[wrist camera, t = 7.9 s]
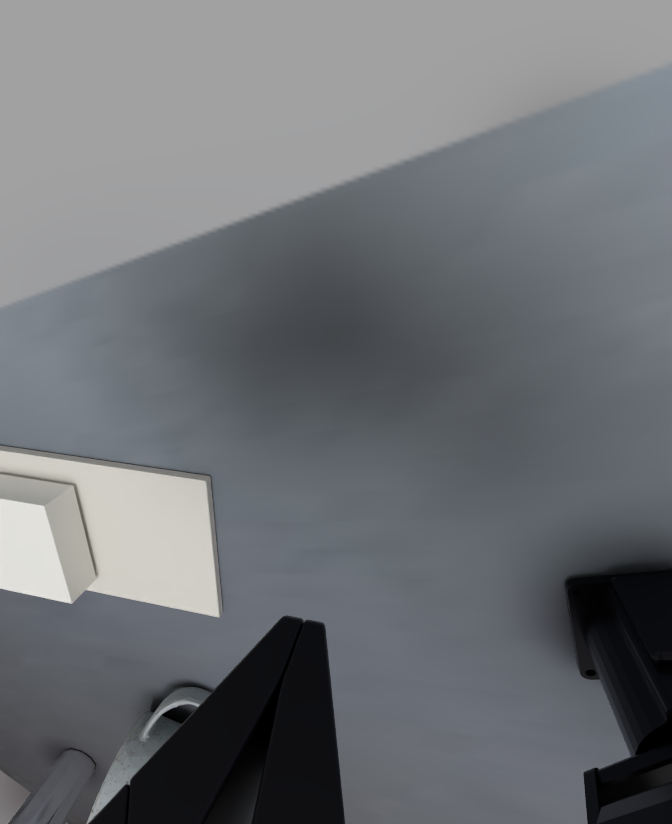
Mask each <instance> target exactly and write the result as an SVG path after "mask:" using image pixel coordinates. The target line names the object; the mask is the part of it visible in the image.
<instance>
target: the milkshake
mask: <svg viewBox="0 0 672 824" xmlns="http://www.w3.org/2000/svg"><path fill="white" fill-rule="evenodd" d="M94 769H95V764H94V762H93V761H92V760H91V758H90V757H88V756H87V755H85V754H84V753H82V752H81V751H77V750H73V749H69V750H66V751H64V752H63V753H62V754H61V756H60V757H59V758H58V760H57V761H56V762H55V763H54V765H53V766H52V767H51V768H50V770H49V771H48V772H47V773H46V775H45V776H44V777H43V779H42V780H41V781H40V782H39V784H38V785H37V786H36V787H35V789H34V790H33V791H32V793H31V794H30V795H29V796H28V798H27V799H26V800H25V802H24V803H23V804H22V805H21V807H20V808H19V809H18V811H17V812H16V813H15V814H14V816H13V817H12V818H11V819H10V821H9V822H8V823H7V824H65V823H66V821H67V819H68V817H69V816H70V814H71V812H72V810H73V808H74V807H75V805H76V803H77V801H78V799H79V798H80V796H81V794H82V792H83V790H84V789H85V787H86V785H87V783H88V781H89V779H90V778H91V776H92V774H93V772H94Z"/></svg>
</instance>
